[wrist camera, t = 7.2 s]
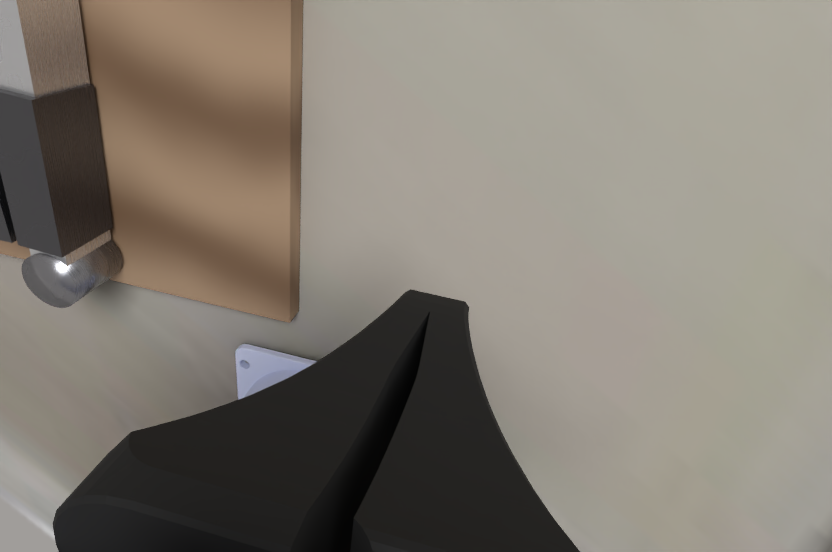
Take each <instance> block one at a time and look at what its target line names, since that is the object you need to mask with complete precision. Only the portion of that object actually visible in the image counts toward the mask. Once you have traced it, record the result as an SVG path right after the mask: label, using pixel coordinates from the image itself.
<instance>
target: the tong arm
mask: <svg viewBox="0 0 832 552" xmlns="http://www.w3.org/2000/svg"><path fill="white" fill-rule="evenodd" d="M0 173H1V177H2V181H3V185H4V189H5V193H6V197H7V202H8V206H9V210H10V214H11V218H12V222H13V226H14V231H15V235H16V239H17V243H18V245H20V246H23V247H27V248H29V250H30V254H31V256H30V257H28V258H26V259H25V260H24V262H23V264H22V275H23V278H24V280H25V282H26V284H27V286H28V287H29V289H30V290H31V291H32V292H33V293H34V294H35V295H36V296H37V297H38V298H39V299H41V300H42V301H43V302H45V303H47V304H49V305H51V306H54V307H59V308H65V307H69V306H71V305H72V304H74V303H75V302H77V301H78V300H79V299H81V298H82V297H84V296H85V295H87V294H88V293H89V292H91V291H92V290H94V289H95V288H97V287H98V286H99V285H101V284H102V283H104V282H105V281H107V280H108V279H110V278H111V277H112V276H114V275H115V274H117V273H118V272H119V271H120V269H121V266H122V257H121V254H120V251H119V249H118V247H117V246H116V244H115V243H114V242H113V241H112V240H111V234H110V229H112V228H113V226H112V219H111V211H110V204H109V196H108V189H107V181H106V174H105V166H104V159H103V151H102V144H101V136H100V129H99V121H98V114H97V106H96V99H95V91H94V85H93V84H90V80H89V73H88V66H87V59H86V51H85V44H84V37H83V29H82V22H81V15H80V7H79V0H0Z"/></svg>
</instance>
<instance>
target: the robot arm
mask: <svg viewBox="0 0 832 552" xmlns="http://www.w3.org/2000/svg"><path fill="white" fill-rule="evenodd" d="M468 312H469V307H468V305H467V304H466V302H464V301H459V300H455V299H450V298H446V297H441V296H437V295H433V294H428V293H424V292H419V291H415V290H409V291H407V292H405V293H404V294H403V295H402V296H401V297H400V298H399V299H398V300H397V301H396V302H395V303H394V304H393V305H392V306H391V307H390V308H388V309H387V310H386V311H385V312H384V313H383V314H382V315H380V316H379V317H378V318H377V319H376V320H374V321H373V322H372V323H371V324H369V325H368V326H367V327H366V328H364V329H363V330H362V331H361V332H359V333H358V334H357V335H356V336H354V337H353V338H351V339H350V340H349V341H347V342H346V343H344V344H343V345H341V346H340V347H339V348H337V349H336V350H334V351H333V352H331V353H330V354H328V355H327V356H325V357H324V358H322V359H320V360H319V361H313V360H309V359H305V358H301V357H297V356H293V355H289V354H285V353H281V352H277V351H273V350H269V349H265V348H261V347H257V346H253V345H249V344H242V345H240V346H239V347H238V348H237V350H236V352H235V359H236V374H237V390H238V400H236V401H234V402H231V403H229V404H226V405H223V406H220V407H217V408H214V409H211V410H208V411H205V412H202V413H199V414H196V415H193V416H190V417H186V418H182V419H179V420H175V421H171V422H168V423H164V424H160V425H156V426H153V427H149V428H145V429H141V430H137V431H133V432H131V433H130V434H129V435H128V436H126V437H125V438H124V439H123V440H122V441H121V442H120V443H119V444H118V445H117V446H116V447H115V448H114V449H113V450H111V451H110V452H109V453H108V454H107V455H106V457H105V458H104V459H103V460H102V461H101V462H100V463H99V464H98V465H97V466H96V467H95V468H94V470H93V471H92V472H91V473H90V474H89V475H88V476H87V477H86V478H85V479H84V481H83V482H82V483H81V484H80V485H79V486H78V487H77V488H76V489H75V490H74V492H73V493H72V494H71V495H70V496H69V497H68V498H67V499H66V500H65V501H64V503H63V504H62V505H61V506H60V507H59V508H58V509H57V510H56V514H55V517H54V521H53V529H54V535H55V540H56V545H57V548H58V550H59V552H580V551H579V550H578V549H577V547H576V546H575V545H574V544H573V542H572V541H571V540H570V539H569V537H568V536H567V535H566V534H565V532H564V531H563V530H562V529H561V527H560V526H559V525H558V524H557V522H556V521H555V520H554V518H553V517H552V516H551V514H550V513H549V511H548V510H547V508H546V507H545V505H544V504H543V502H542V501H541V499H540V498H539V496H538V495H537V494H536V492H535V491H534V489H533V487H532V486H531V484H530V482H529V481H528V479H527V477H526V476H525V474H524V472H523V471H522V469H521V467H520V465H519V464H518V462H517V460H516V459H515V457H514V455H513V454H512V452H511V450H510V448H509V446H508V444H507V442H506V440H505V438H504V436H503V434H502V432H501V430H500V428H499V426H498V423H497V421H496V419H495V417H494V414H493V412H492V410H491V407H490V405H489V402H488V399H487V397H486V394H485V391H484V388H483V385H482V382H481V379H480V376H479V372H478V369H477V365H476V361H475V357H474V353H473V349H472V344H471V338H470V331H469V322H468ZM244 360H245V361H247V362H248V363H249V364H248V363H246V362H245V361H244Z"/></svg>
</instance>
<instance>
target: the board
mask: <svg viewBox="0 0 832 552" xmlns="http://www.w3.org/2000/svg"><path fill="white" fill-rule="evenodd" d="M79 7H80V15H81V22H82V29H83V37H84V44H85V51H86V59H87V66H88V73H89V80H90V84H93V85H94V91H95V99H96V106H97V114H98V121H99V129H100V136H101V144H102V151H103V159H104V166H105V174H106V181H107V189H108V196H109V204H110V211H111V219H112V226H113V228H112V229H110V234H111V240H112V241H113V242H114V243H115V244H116V246H117V247H118V249H119V251H120V254H121V257H122V266H121V269H120V271H119V272H118V273H117V274H115V275H114V276H112V277H111V278H110V279H109V280H113V281H118V282H122V283H126V284H130V285H134V286H138V287H143V288H147V289H151V290H155V291H159V292H164V293H168V294H172V295H176V296H180V297H184V298H189V299H193V300H197V301H201V302H205V303H209V304H214V305H218V306H222V307H226V308H230V309H234V310H239V311H243V312H247V313H251V314H255V315H259V316H264V317H268V318H272V319H276V320H280V321H284V322H289V323H290V322H291V321H292V319H293V318H294V316H295V315H296V314H297V312H298V311H299V265H300V190H301V115H302V40H303V0H79ZM0 253H1V254H5V255H9V256H13V257H18V258H22V259H26V258H28V257H30V256H31V254H30V250H29V248H27V247H23V246H20V245H18V243H17V241H15V242H13V243H10V242H6V241H1V240H0Z"/></svg>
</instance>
